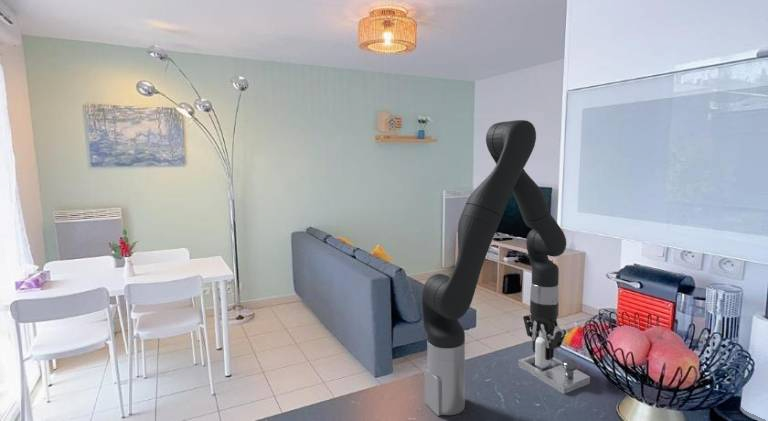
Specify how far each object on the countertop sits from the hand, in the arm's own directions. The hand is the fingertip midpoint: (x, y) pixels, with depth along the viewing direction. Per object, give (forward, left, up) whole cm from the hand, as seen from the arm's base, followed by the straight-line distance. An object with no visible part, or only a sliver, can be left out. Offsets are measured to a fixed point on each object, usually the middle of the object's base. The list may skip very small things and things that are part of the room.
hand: (542, 355), depth 117 cm
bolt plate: (0, -3, -4) cm, 5 cm away
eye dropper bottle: (0, 0, -3) cm, 3 cm away
